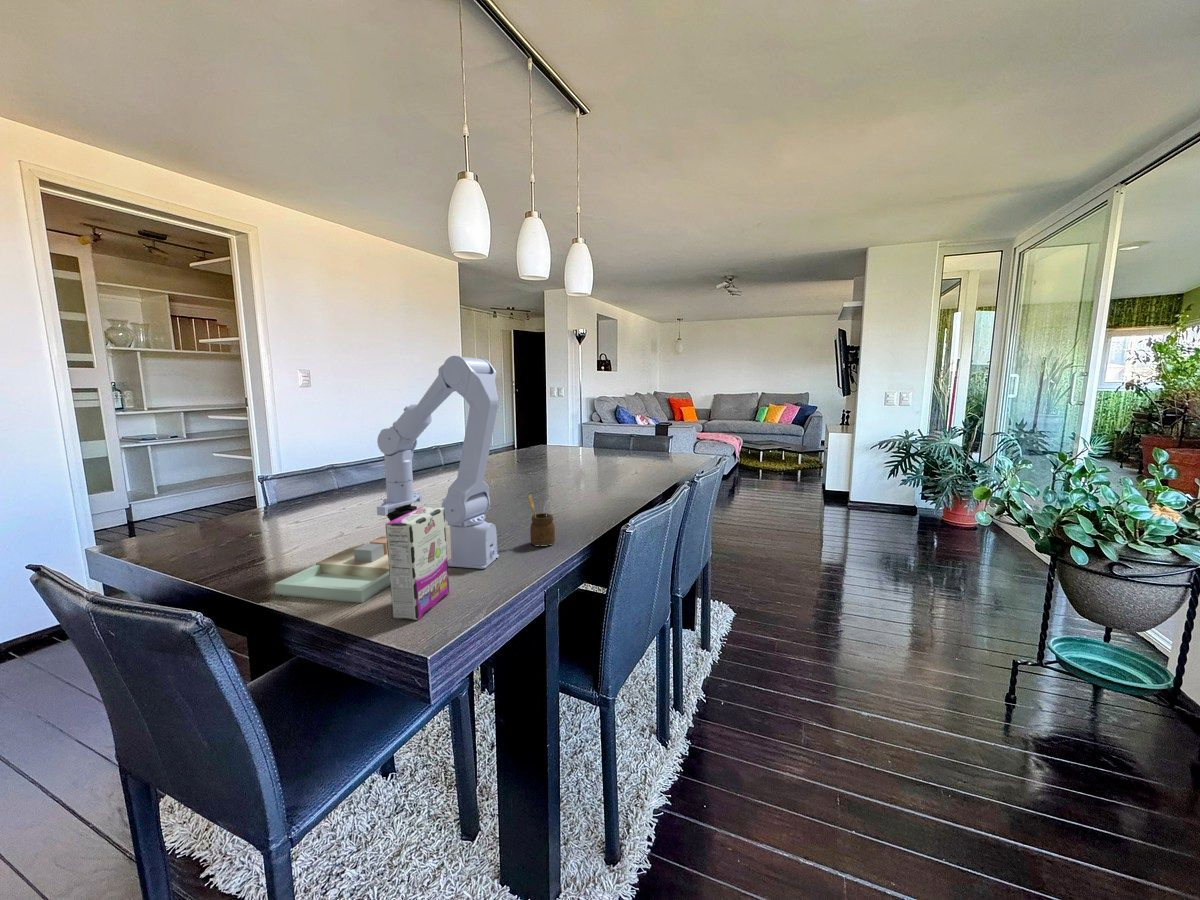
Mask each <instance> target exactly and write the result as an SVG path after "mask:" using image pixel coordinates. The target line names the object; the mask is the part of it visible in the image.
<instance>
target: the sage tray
mask: <svg viewBox="0 0 1200 900" xmlns="http://www.w3.org/2000/svg"><path fill="white" fill-rule="evenodd" d="M388 587H390V573H389V572H387V573H385V574H384V575H382V576H380V577H379V578H372V577H359V576H347V575H334V574H322V573H321V569H320V565H316V564H314V565H311V566H310V567H307V568H305V569H303V570H301V571H299V572H296V573H294V574H292V575H291V576H288V577H286V578H284V579H282V580H281V579H280V580H279V581H277V582H275V583H274V591H275V592H274V593H275V596H280V595H282V596H281V597H293V598H301V599H302V598H305V599H314V600H316V599H317V600H326V601H337V602H347V603H356V604H357V603H358V604H359V603H360V604H363V603H364V602H366V601H367V600H370V599H371V598H373V597H374V596H376V595H377V594H378V593H380V592H382V591H383V590H385V589H387V588H388Z"/></svg>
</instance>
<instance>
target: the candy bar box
mask: <svg viewBox="0 0 1200 900" xmlns="http://www.w3.org/2000/svg"><path fill="white" fill-rule="evenodd" d="M385 533H386V534H385V535H386V536H385V537H387V550H388V562H389V573H390V586H389V587H390V597H391V599H390V600H391V613H392V618H393V619H395V620H396V619H397V620H411V621H412V620H413V621H419V620H420V619H421V618H422V617H423V615H424V616H425V615H426V614H428V612H429V611H431V609H433V608H434V607H435V606H436V605H438V603H440V602H441V601H443V599H444V598H446V597H447V595H448V594H450V581H449V566H448V564H447V561H448V551H447V535H446V533H447V532H446V520H445V514H444V508H441V506H440V507H439V506H420V507H417V509H416V510H414V511H411V512H409V513H407V514H405V515H403V516H401V517H399V518H397V519H394V520H392V521H390V520H389V521H388V522H386V523H385Z"/></svg>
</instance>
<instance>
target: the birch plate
mask: <svg viewBox="0 0 1200 900" xmlns="http://www.w3.org/2000/svg"><path fill="white" fill-rule="evenodd" d="M364 544H365V543H357V544H355V545H353V546H351V547H348V548H346V549H344V550H342V551H340V552H337V553H335V554H333V555H331V556H328V557H326V558H324V559H321V560H320V561H318V562H315V565H320V569H321V573H322V574H334V575H347V576H359V577H372V578H379V577H380V576H382V575H384V574H385V573H387V572H389V562H388V554H384V556H383V557H381V558H379V559H377V560H375V561H374V562H359V561H355V560H354V549H356V548H358V547H360V546H362V545H364Z"/></svg>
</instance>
